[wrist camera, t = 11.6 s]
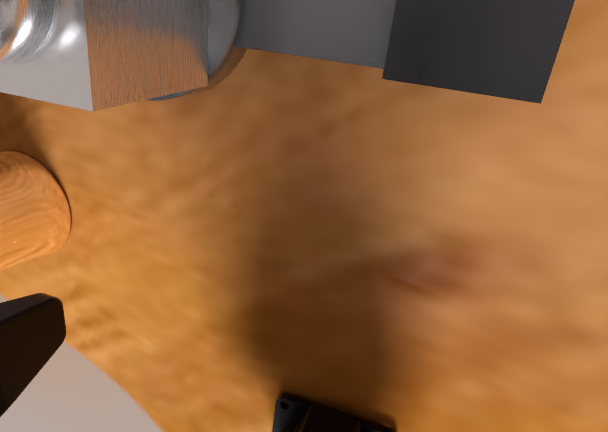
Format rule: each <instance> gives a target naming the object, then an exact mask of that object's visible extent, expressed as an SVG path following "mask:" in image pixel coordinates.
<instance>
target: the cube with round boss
mask: <svg viewBox="0 0 608 432" xmlns="http://www.w3.org/2000/svg"><path fill="white" fill-rule="evenodd" d="M208 32H209V0H0V92H2V93H7V94H12V95H17V96H22V97H26V98H31V99H36V100H41V101H46V102H51V103H55V104H60V105H65V106H70V107H75V108H79V109H84V110H89V111H96V110H101V109H105V108H110V107H115V106H119V105H124V104H128V103H133V102H137V101H142V100H146V99H151V98H155V97H160V96H164V95H169V94H173V93H178V92H182V91H187V90H191V89H196V88H201V87H205V86H207V77H208Z"/></svg>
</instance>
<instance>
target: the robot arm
mask: <svg viewBox="0 0 608 432" xmlns="http://www.w3.org/2000/svg"><path fill="white" fill-rule="evenodd" d="M65 336H66V325H65V318H64V311H63V305H62V302H61V300H60V299H58V298H56V297H53V296H50V295H47V294H44V293H37V294H33V295H29V296H25V297H22V298H18V299H14V300H10V301H6V302H2V303H0V417H1V416H2V415H3V414H4V413H5V411H6V410H7V409H8V408H9V407H10V406H11V405H12V403H13V402H14V401H15V400H16V399H17V398H18V396H19V395H20V394H21V393H22V392H23V390H24V389H25V388H26V387H27V385H28V384H29V383H30V382H31V381H32V379H33V378H34V377H35V376H36V375H37V373H38V372H39V371H40V370H41V369H42V367H43V366H44V365H45V364H46V362H47V361H48V360H49V359H50V358H51V356H52V355H53V354H54V353H55V351H56V350H57V349H58V348H59V347H60V345H61V344H62V343H63V341H64V339H65ZM284 402H286V403H287V404H286V403H284ZM272 432H394V431H393V430H391V429H389V428H387V427H384V426H381V425H378V424H375V423H372V422H369V421H366V420H363V419H361V418H358V417H355V416H352V415H349V414H346V413H343V412H340V411H337V410H334V409H332V408H329V407H326V406H323V405H320V404H317V403H314V402H311V401H308V400H305V399H302V398H300V397H297V396H294V395H291V394H288V393H281V394H280V395H279V397H278V399H277V401H276V405H275V414H274V422H273V431H272Z"/></svg>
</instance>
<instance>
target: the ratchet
mask: <svg viewBox="0 0 608 432" xmlns="http://www.w3.org/2000/svg"><path fill="white" fill-rule="evenodd" d="M574 1H575V0H209V32H208V77H207V86H205V87H201V88H196V89H191V90H187V91H182V92H178V93H173V94H169V95H164V96H160V97H155V98H151V99H146V100H166V99H170V98H175V97H179V96H184V95H188V94H192V93H196V92H200V91H203V90H205V89H208V88H210V87H212V86H214V85H216V84H217V83H219V82H220V81H221V80H223V79H224V78H225V77H226V76H228V75H229V74H230V72H231V71H232V70H233V69H234V68H235V67H236V66H237V64H238V63H239V61H240V60H241V58H242V57H243V55H244V53H245V51H246V49H247V48H249V49H256V50H263V51H269V52H276V53H283V54H289V55H296V56H303V57H309V58H316V59H323V60H329V61H336V62H343V63H349V64H356V65H363V66H370V67H376V68H383V69H384V73H383V78H382V79H387V80H393V81H400V82H406V83H413V84H419V85H426V86H432V87H438V88H445V89H451V90H458V91H464V92H471V93H477V94H483V95H490V96H496V97H503V98H509V99H516V100H522V101H529V102H535V103H541V101H542V98H543V95H544V92H545V89H546V86H547V83H548V80H549V77H550V74H551V71H552V68H553V65H554V62H555V59H556V56H557V53H558V50H559V47H560V44H561V41H562V37H563V34H564V31H565V28H566V25H567V22H568V19H569V16H570V13H571V10H572V7H573V4H574Z"/></svg>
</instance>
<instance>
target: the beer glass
mask: <svg viewBox="0 0 608 432" xmlns="http://www.w3.org/2000/svg"><path fill="white" fill-rule="evenodd" d="M70 228H71V215H70V209H69V205H68V202H67V199H66V197H65V194H64V192H63V190H62V188H61V187H60V185H59V184H58V182H57V181H56V179H55V178H54V177H53V175H52V174H51V173H50V172H49V171H48V170H47V169H46V168H45V167H44V166H43V165H42V164H40V163H39V162H38V161H36V160H35V159H33V158H31V157H30V156H28V155H25V154H23V153H20V152H15V151H3V152H0V271H2V270H4V269H6V268H8V267H10V266H13V265H16V264H18V263H21V262H24V261H27V260H31V259H34V258H37V257H40V256H43V255H46V254H49V253H51V252H54V251H56V250H57V249H59V248H60V247H61V246H62V245H63V244H64V243H65V242H66V240H67V238H68V236H69V233H70Z"/></svg>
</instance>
